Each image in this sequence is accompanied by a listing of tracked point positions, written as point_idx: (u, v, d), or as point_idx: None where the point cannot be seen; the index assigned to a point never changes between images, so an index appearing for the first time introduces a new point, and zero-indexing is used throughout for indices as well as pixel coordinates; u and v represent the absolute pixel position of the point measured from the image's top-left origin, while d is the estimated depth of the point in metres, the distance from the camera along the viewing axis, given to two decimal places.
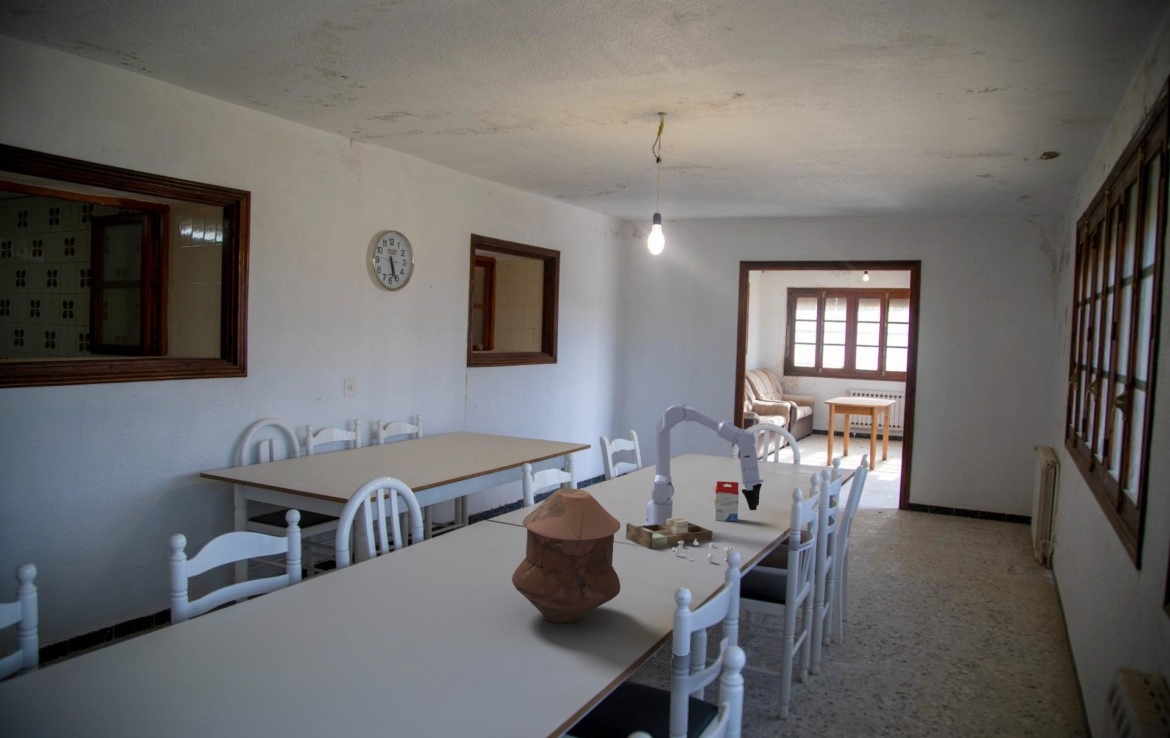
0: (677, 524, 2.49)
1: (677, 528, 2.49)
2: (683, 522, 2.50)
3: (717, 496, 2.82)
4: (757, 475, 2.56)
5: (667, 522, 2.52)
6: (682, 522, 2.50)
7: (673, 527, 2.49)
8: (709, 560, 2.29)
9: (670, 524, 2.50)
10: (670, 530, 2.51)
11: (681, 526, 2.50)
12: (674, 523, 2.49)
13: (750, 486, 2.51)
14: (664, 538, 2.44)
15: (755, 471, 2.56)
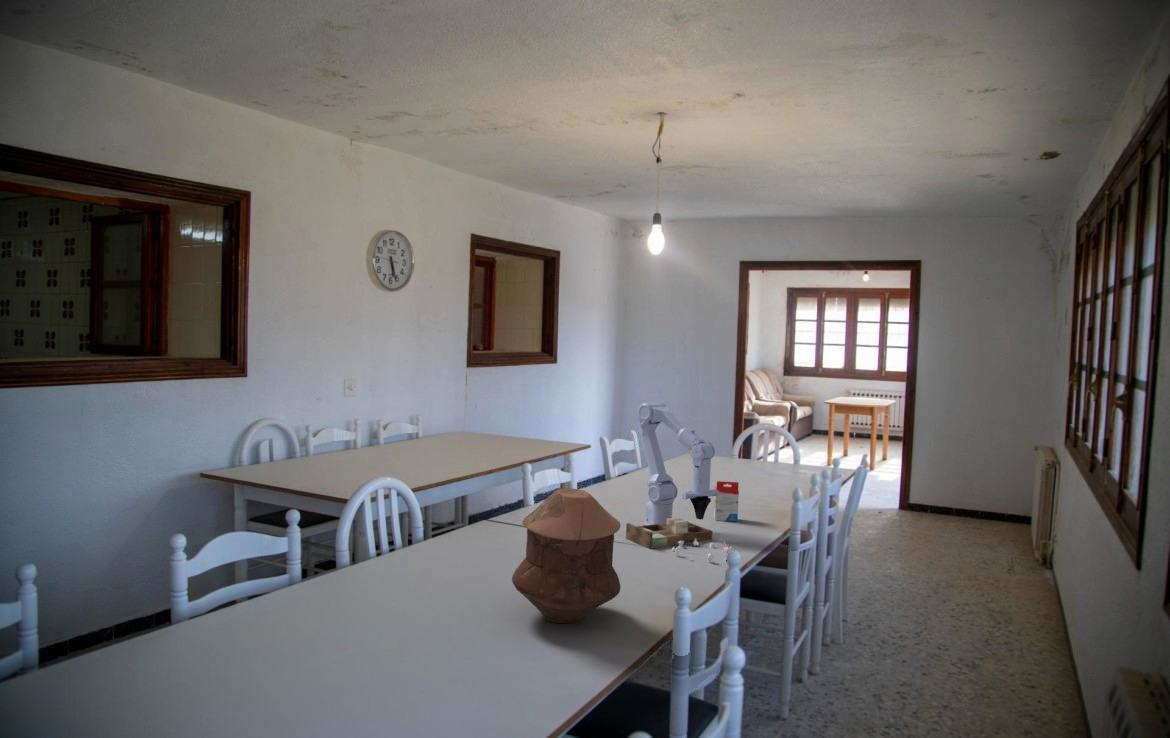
0: (677, 524, 2.49)
1: (677, 528, 2.49)
2: (683, 522, 2.50)
3: (717, 496, 2.82)
4: (702, 487, 2.53)
5: (667, 522, 2.52)
6: (682, 522, 2.50)
7: (673, 527, 2.49)
8: (709, 560, 2.29)
9: (670, 524, 2.50)
10: (670, 530, 2.51)
11: (681, 526, 2.50)
12: (674, 523, 2.49)
13: (684, 495, 2.52)
14: (664, 538, 2.44)
15: (700, 483, 2.53)
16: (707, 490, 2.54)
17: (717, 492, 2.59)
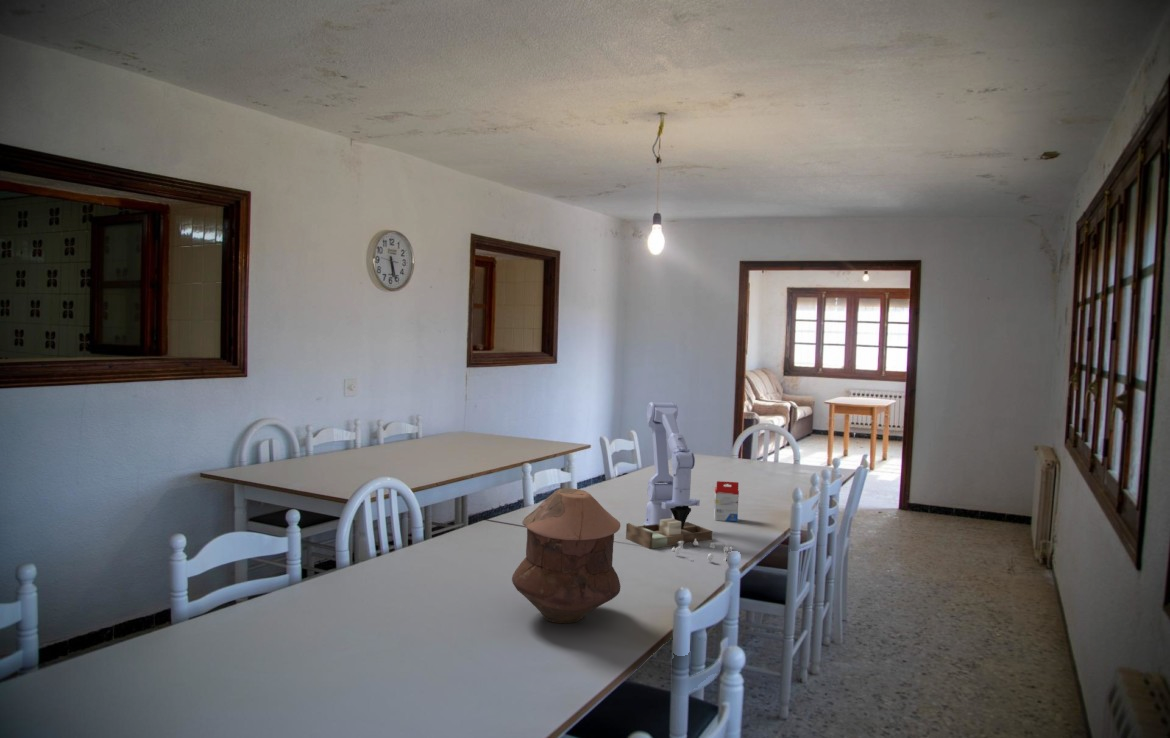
0: (670, 525, 2.47)
1: (670, 529, 2.47)
2: (677, 523, 2.48)
3: (717, 496, 2.82)
4: (682, 497, 2.49)
5: (660, 523, 2.50)
6: (675, 523, 2.48)
7: (666, 528, 2.48)
8: (709, 560, 2.29)
9: (664, 525, 2.49)
10: (663, 531, 2.49)
11: (674, 527, 2.48)
12: (667, 524, 2.47)
13: (664, 505, 2.48)
14: (664, 538, 2.44)
15: (680, 492, 2.49)
16: (687, 500, 2.50)
17: (698, 501, 2.55)
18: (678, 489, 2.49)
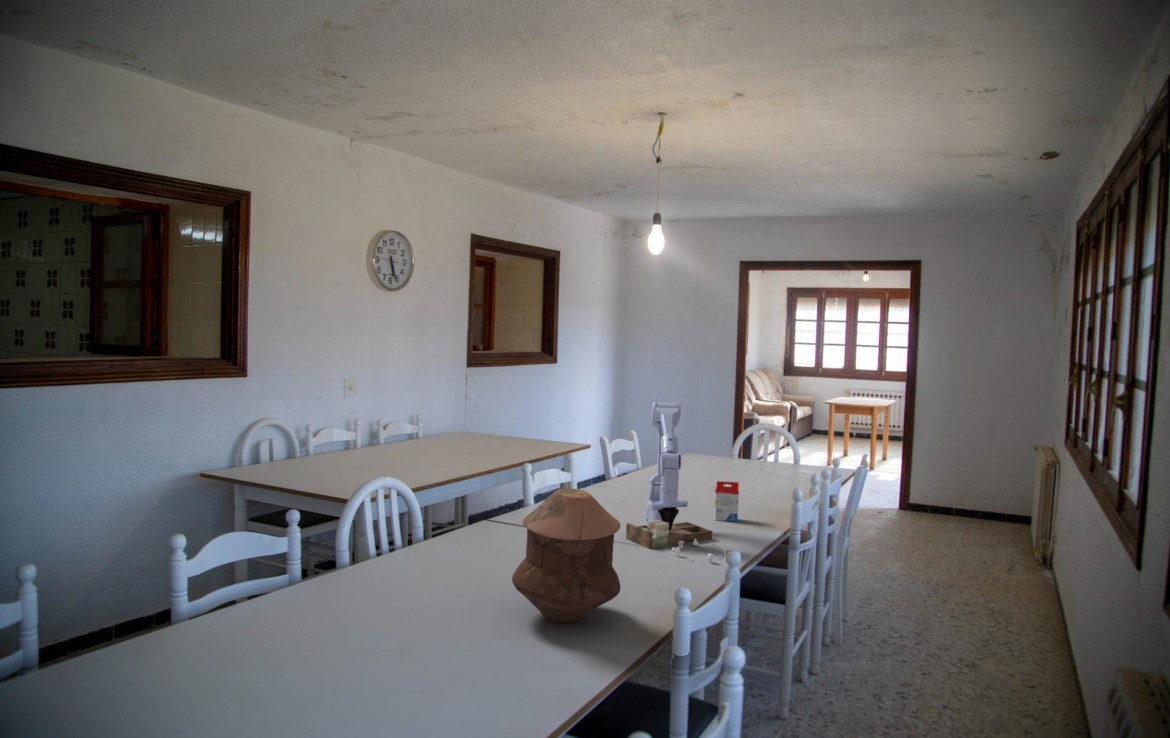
0: (658, 527, 2.44)
1: (657, 531, 2.44)
2: (664, 525, 2.46)
3: (717, 496, 2.82)
4: (670, 498, 2.46)
5: (648, 525, 2.48)
6: (663, 525, 2.45)
7: (654, 530, 2.45)
8: (709, 560, 2.29)
9: (651, 526, 2.46)
10: None
11: (662, 529, 2.45)
12: (655, 526, 2.44)
13: (651, 506, 2.45)
14: (664, 538, 2.44)
15: (668, 494, 2.46)
16: (675, 501, 2.47)
17: (686, 503, 2.52)
18: (665, 490, 2.47)
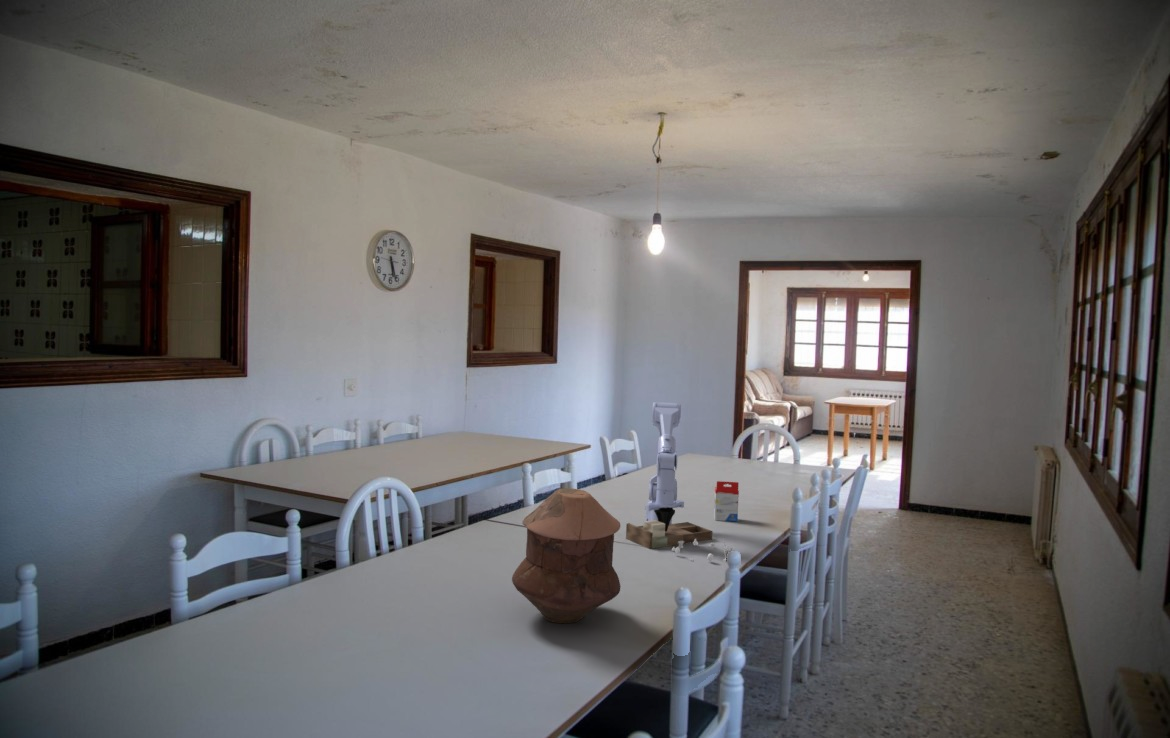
0: (654, 527, 2.43)
1: (654, 532, 2.43)
2: (660, 525, 2.45)
3: (717, 496, 2.82)
4: (666, 499, 2.46)
5: (644, 525, 2.47)
6: (659, 525, 2.44)
7: (650, 530, 2.44)
8: (709, 560, 2.29)
9: (647, 527, 2.45)
10: None
11: (658, 529, 2.44)
12: (651, 526, 2.44)
13: (647, 507, 2.44)
14: (664, 538, 2.44)
15: (664, 494, 2.46)
16: (671, 501, 2.46)
17: (682, 503, 2.51)
18: (662, 491, 2.46)
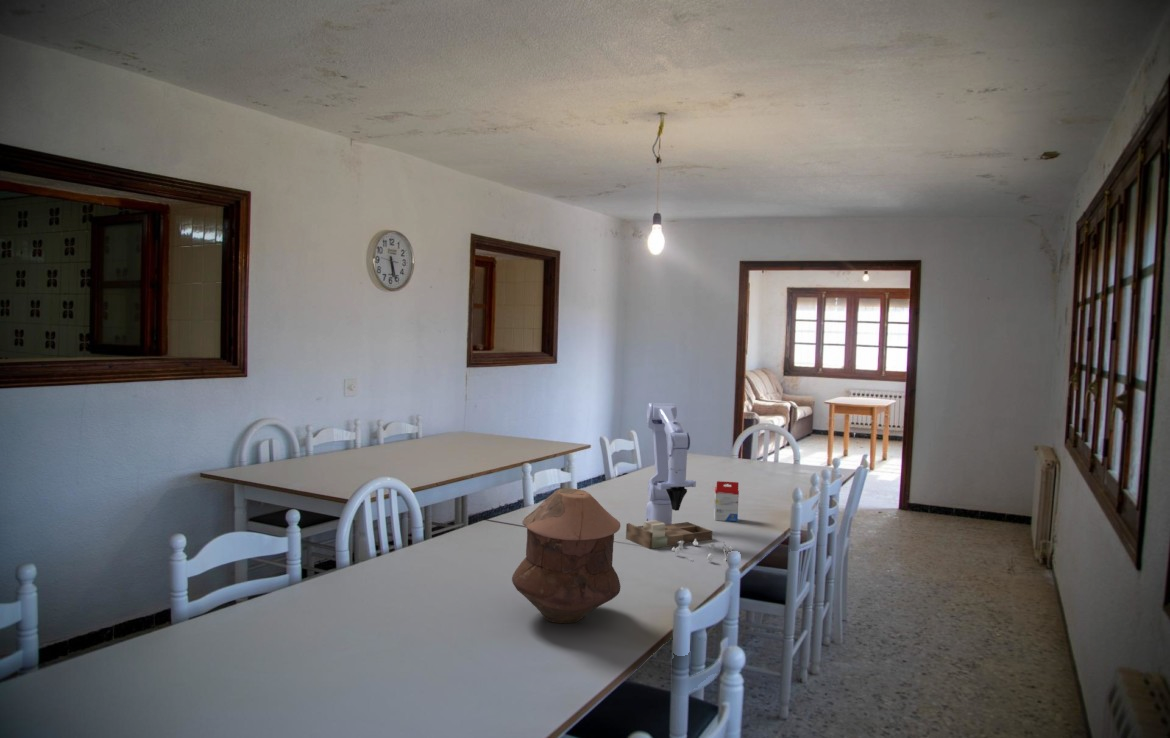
0: (654, 527, 2.43)
1: (654, 532, 2.43)
2: (660, 525, 2.45)
3: (717, 496, 2.82)
4: (678, 478, 2.48)
5: (644, 525, 2.47)
6: (659, 525, 2.44)
7: (650, 530, 2.44)
8: (709, 560, 2.29)
9: (647, 527, 2.45)
10: None
11: (658, 529, 2.44)
12: (651, 526, 2.44)
13: (659, 486, 2.47)
14: (664, 538, 2.44)
15: (676, 473, 2.48)
16: (683, 480, 2.49)
17: (694, 483, 2.53)
18: (674, 470, 2.48)
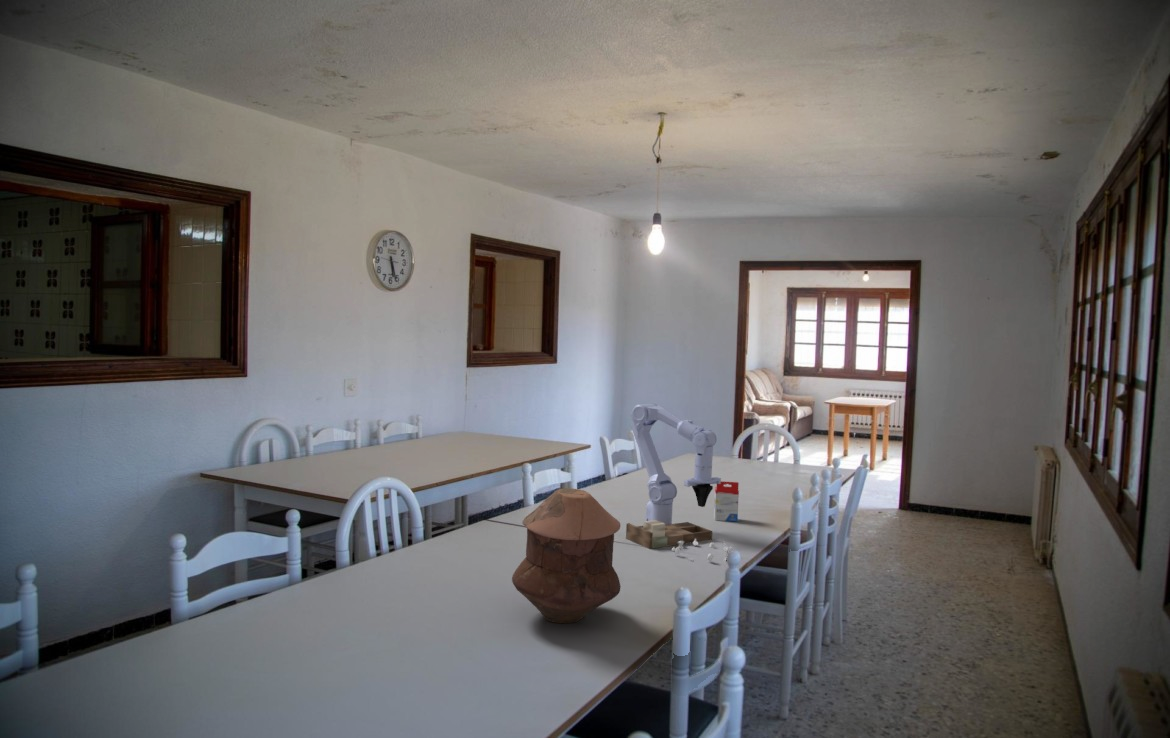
0: (654, 527, 2.43)
1: (654, 532, 2.43)
2: (660, 525, 2.45)
3: (717, 496, 2.82)
4: (704, 475, 2.55)
5: (644, 525, 2.47)
6: (659, 525, 2.44)
7: (650, 530, 2.44)
8: (709, 560, 2.29)
9: (647, 527, 2.45)
10: None
11: (658, 529, 2.44)
12: (651, 526, 2.44)
13: (686, 482, 2.54)
14: (664, 538, 2.44)
15: (702, 470, 2.55)
16: (709, 477, 2.56)
17: (719, 480, 2.60)
18: (700, 467, 2.55)
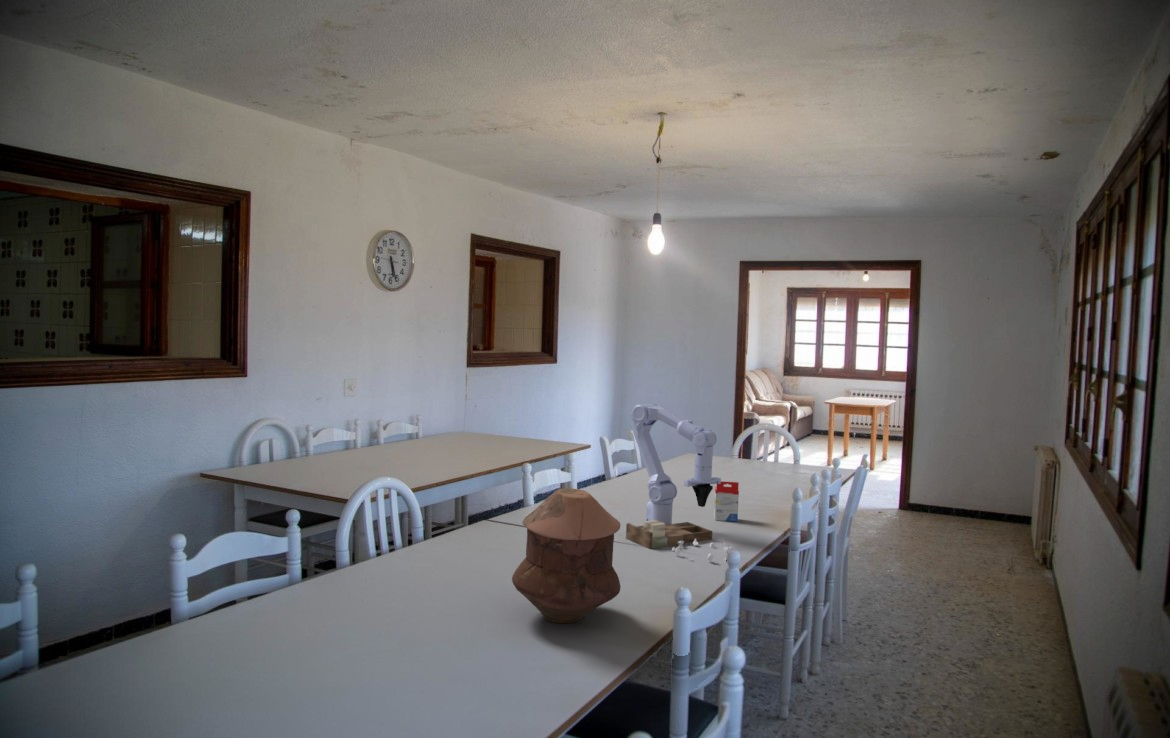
0: (654, 527, 2.43)
1: (654, 532, 2.43)
2: (660, 525, 2.45)
3: (717, 496, 2.82)
4: (704, 475, 2.55)
5: (644, 525, 2.47)
6: (659, 525, 2.44)
7: (650, 530, 2.44)
8: (709, 560, 2.29)
9: (647, 527, 2.45)
10: None
11: (658, 529, 2.44)
12: (651, 526, 2.44)
13: (686, 482, 2.54)
14: (664, 538, 2.44)
15: (702, 470, 2.55)
16: (709, 477, 2.56)
17: (719, 480, 2.60)
18: (700, 467, 2.55)
